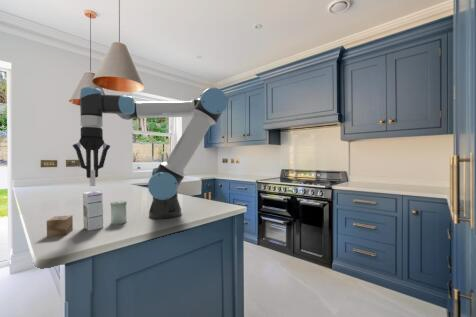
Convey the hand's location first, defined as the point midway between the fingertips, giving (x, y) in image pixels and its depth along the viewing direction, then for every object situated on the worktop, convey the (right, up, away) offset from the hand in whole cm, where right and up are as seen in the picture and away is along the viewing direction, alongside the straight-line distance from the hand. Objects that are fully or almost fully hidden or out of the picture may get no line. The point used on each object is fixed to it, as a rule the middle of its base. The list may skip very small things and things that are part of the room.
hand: (92, 185), depth 94 cm
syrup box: (0, -17, 0) cm, 17 cm away
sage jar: (+7, -17, +8) cm, 20 cm away
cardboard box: (-8, -17, -6) cm, 20 cm away
